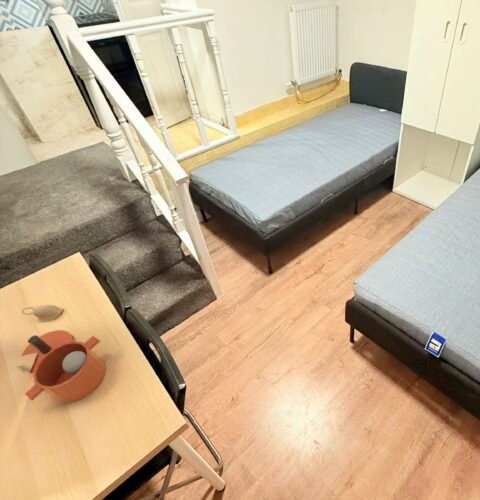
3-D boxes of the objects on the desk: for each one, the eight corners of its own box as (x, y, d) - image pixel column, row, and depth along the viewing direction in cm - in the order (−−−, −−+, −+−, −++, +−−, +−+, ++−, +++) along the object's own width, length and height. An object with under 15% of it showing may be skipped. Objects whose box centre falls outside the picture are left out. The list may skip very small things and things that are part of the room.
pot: (34, 396, 86) (11, 382, 80) (96, 342, 97) (80, 326, 91) (61, 421, 82) (39, 408, 76) (123, 362, 92) (108, 346, 86)
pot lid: (13, 360, 94) (-5, 347, 89) (58, 325, 102) (43, 311, 97) (38, 382, 89) (20, 370, 84) (83, 344, 97) (69, 331, 92)
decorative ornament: (59, 319, 103) (48, 309, 99) (30, 323, 102) (19, 313, 99) (64, 308, 106) (54, 298, 102) (36, 312, 105) (25, 302, 101)
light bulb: (61, 376, 87) (56, 356, 81) (83, 363, 91) (79, 343, 85) (73, 390, 86) (69, 371, 80) (95, 376, 90) (93, 356, 84)
